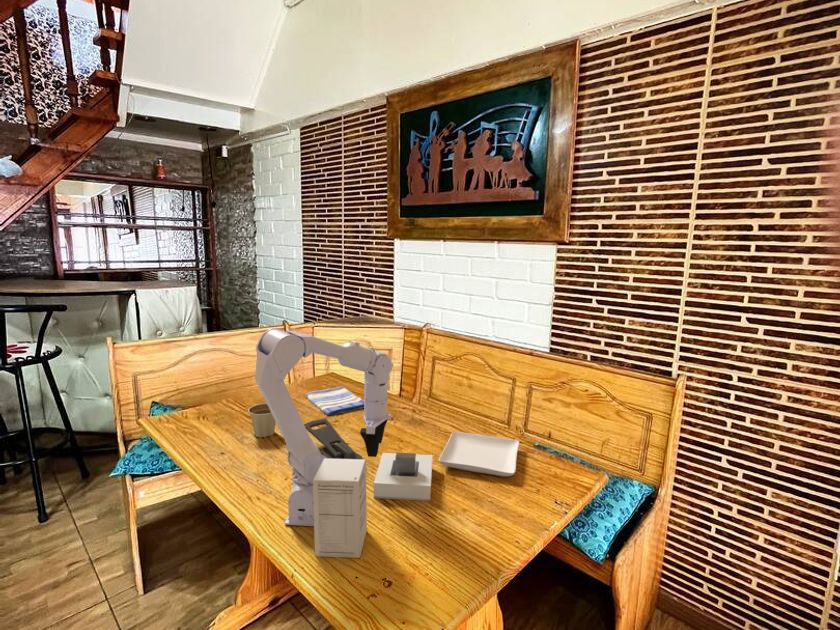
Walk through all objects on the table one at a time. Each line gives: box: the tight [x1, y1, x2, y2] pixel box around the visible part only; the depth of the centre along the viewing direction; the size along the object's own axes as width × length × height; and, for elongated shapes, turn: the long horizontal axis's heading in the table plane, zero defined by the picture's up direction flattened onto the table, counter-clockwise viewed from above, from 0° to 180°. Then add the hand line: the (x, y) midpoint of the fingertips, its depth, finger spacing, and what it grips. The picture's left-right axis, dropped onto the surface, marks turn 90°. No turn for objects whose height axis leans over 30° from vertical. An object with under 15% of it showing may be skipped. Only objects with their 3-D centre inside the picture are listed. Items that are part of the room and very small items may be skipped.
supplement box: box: [313, 458, 368, 559], centre depth 93 cm, size 10×9×17 cm
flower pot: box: [247, 403, 277, 438], centre depth 145 cm, size 9×9×9 cm
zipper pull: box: [303, 418, 363, 459], centre depth 132 cm, size 9×7×25 cm
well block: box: [373, 452, 433, 502], centre depth 118 cm, size 16×14×4 cm
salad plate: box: [438, 431, 520, 477], centre depth 132 cm, size 21×21×3 cm
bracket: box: [395, 452, 417, 477], centre depth 118 cm, size 6×5×8 cm
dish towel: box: [305, 385, 364, 416], centre depth 175 cm, size 17×24×3 cm
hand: (375, 449), depth 115 cm, fingers open, 7 cm apart
